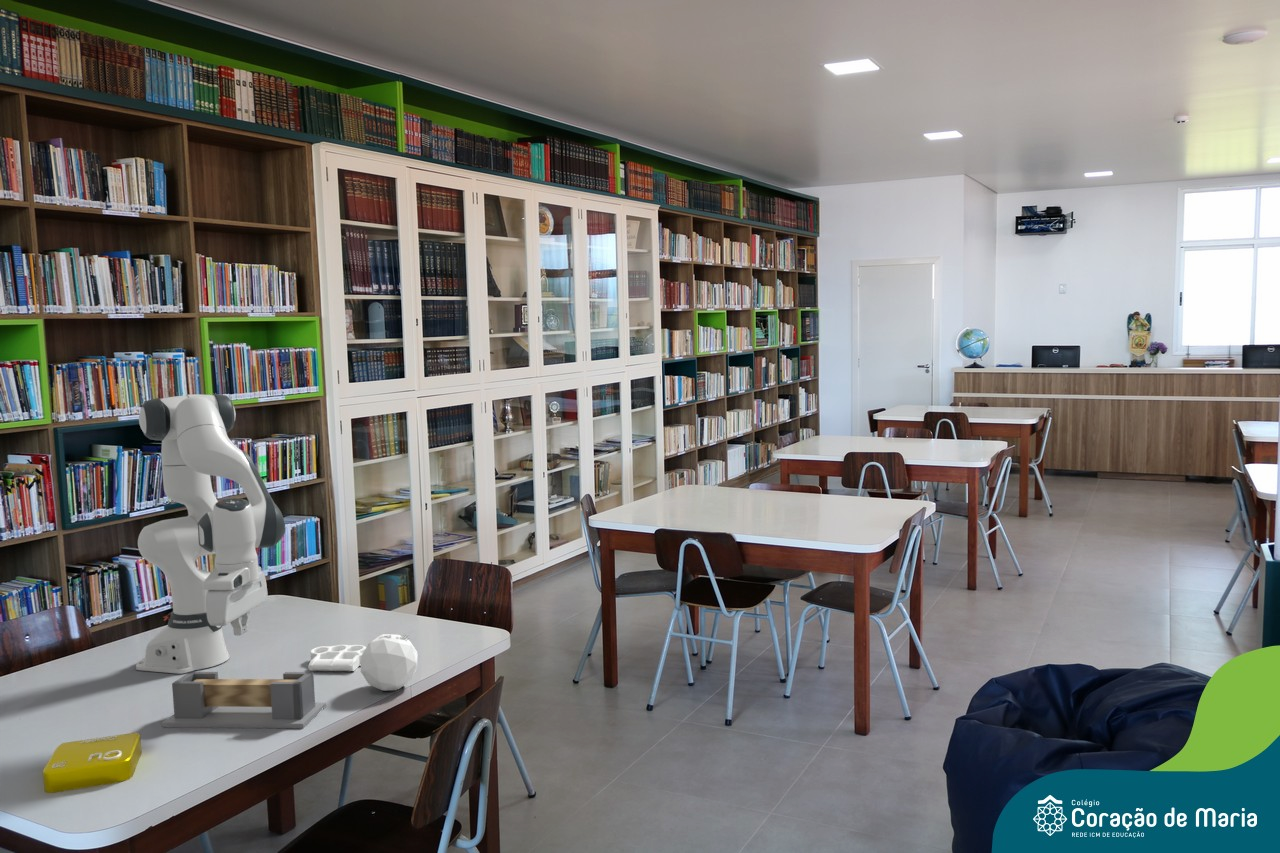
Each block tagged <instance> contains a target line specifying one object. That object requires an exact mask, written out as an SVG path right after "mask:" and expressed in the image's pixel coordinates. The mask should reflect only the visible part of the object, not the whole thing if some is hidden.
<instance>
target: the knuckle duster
mask: <svg viewBox="0 0 1280 853" xmlns="http://www.w3.org/2000/svg"><path fill="white" fill-rule="evenodd" d="M366 647H367V645H365V646H364V645H363V644H361V645H360V644H352V645H350V644H337V645H332V646H330V645H329V646H328V645H327V646H326V645H324V646H316V647H315V648H312V649H310V652H309V654H310V662H309V664H308V666H307V668H308V670H309V672H316V671H318V672H333V671H334V672H351V671H354V670H355V669H356V668H357V667H358V666H359V665H360V664H361V656H362V654H363V652H364V651H365V649H366ZM354 672H355V671H354Z"/></svg>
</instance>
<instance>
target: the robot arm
mask: <svg viewBox="0 0 1280 853" xmlns="http://www.w3.org/2000/svg"><path fill="white" fill-rule="evenodd" d="M236 414H237V413H236V409H235V406H234V404H233V401H232V399H231V398H230V397H229V396H227V395H225V394H219V393H213V394H201V393H200V394H198V393H195V394H185V395H178V396H168V397H163V398H159V397H156V398H151V399H148V400H146V401H144V402H143V404H142V405H141V408H140V411H139V414H138V423H139V426H140V429H141V430H142V432H143V435H144V436H145V437H146V438H148V439H149V440H152V441H153V440H154V441H160V442H161V451H160V452H161V454H160V455H161V470H162V472H161V473H162V482H163V492H164V494H165V496H166V497H167V498H168V499H170V500H171V501H173V502H176V503H179V504H181V505H184V506H185V507H186V509H187V514H188V515H187V516H181V517H176V518H170V519H169V518H168V519H163V520H162V519H161V520H159V521H156V522H154V523H151V524H148V525H146V526H144V527H143V528H142V529H141V531H140V533H139V534H138V537H137V538H138V539H137V547H138V552H139V554H140V555H141V556H142V558H144V560H145V561H147V562H148V563H151V564H153V565H154V566H156V567H157V568H159V570H161V571H162V572H163V575H164V576H165V577H166V579H167V581H168V583H169V587H170V594H171V600H172V611H171V612H169V613H167V615H165V616H163V618H164V619H163V621H164V622H166V621H167V620H168V622H167V626H165V627H164V628H163V629H162V630H161V631H160V632H159V633H158V634H156V635H155V636H154V637H153V638H152V639H150V640H149V641H148V643H147V644H146V648H145V654H144V658H142V659H140V660H139V661H138V662H137V663H136V665H135V670H136V671H143V672H144V671H145V672H157V673H168V674H169V673H170V674H179V675H180V674H188V673H189V672H195V671H198V670H204V669H208V668H211V667H215V666H218V665H221V664H223V663H224V662H226V661H228V660H229V659H230V657H231V656H230V653H229V652H228V649H227V646H226V642H225V638H224V633H223V626H227V625H228V624H230V625H231V626H232V628H233V630H232V631H233V635H234V636H239V637H240V636H242V635H244V634H245V633H246V632H248V630H249V628H248V624H249V622H250V621H249V620H250V616H251V611H252V610H254V609H255V608H258V607H259V606H261V605H262V604H264V603H266V602H267V600H268V595H269V594H268V588H267V586H268V585H267V581H266V580H267V578H266V576H265V573H264V572H263V571H262V567H261V566H260V565H259V558H258V553H257V550H256V548H258V549H263V548H265V549H266V548H273V547H275V546H276V545H278V544H279V542H280V541H281V540H282V538H283V537H284V536H285V534H286V523H285V518H284V516H283V514H282V511H281V510H280V508H279V507H278V505H277V504H276V503H275V501H274V499H273V498H272V496H271V494H270V492H269V490H268V489H267V486H266V484H265V483H264V481H263V477H262V476H261V474H260V473H259V470H258V469H257V467H256V465H255V463H254V461H253V459H252V458H251V456H250V455H249V454H248V453H247V451H245V450H243V449H240V448H239V447H237V446H236V445H235V444H234V443H233V442H232V441H231V439H230V438H229V436H228V433H229V432H230V431H231V430H232V429H233V428H234V427H235V421H236ZM211 476H213V477H219V478H224V479H228V480H231V481H233V482H235V483H237V484H238V485H239V486H241V488H242V490H243V492H244V494H245V496H246V499H247V500H246V499H243V498H238V497H236V498H235V497H234V498H233V497H232V498H224V499H221V500H219V501H218V499H217V498H216V495H215V493H214V491H213V487H212V479H211ZM209 555H215V556H214V567H213V568H212V570H211V572H210V571H207V570H205V569H201V568H198V567H197V565H196V562H195V558H198V557H204V556H209Z"/></svg>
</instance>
